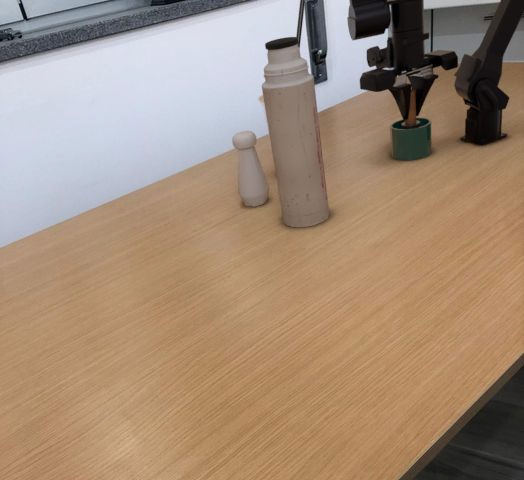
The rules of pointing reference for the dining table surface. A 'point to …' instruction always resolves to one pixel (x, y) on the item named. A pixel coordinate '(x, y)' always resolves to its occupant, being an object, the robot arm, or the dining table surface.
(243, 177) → the salt shaker
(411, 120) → the wooden peg on base
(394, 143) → the enamel cup
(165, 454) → the dining table surface
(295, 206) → the thermos bottle
